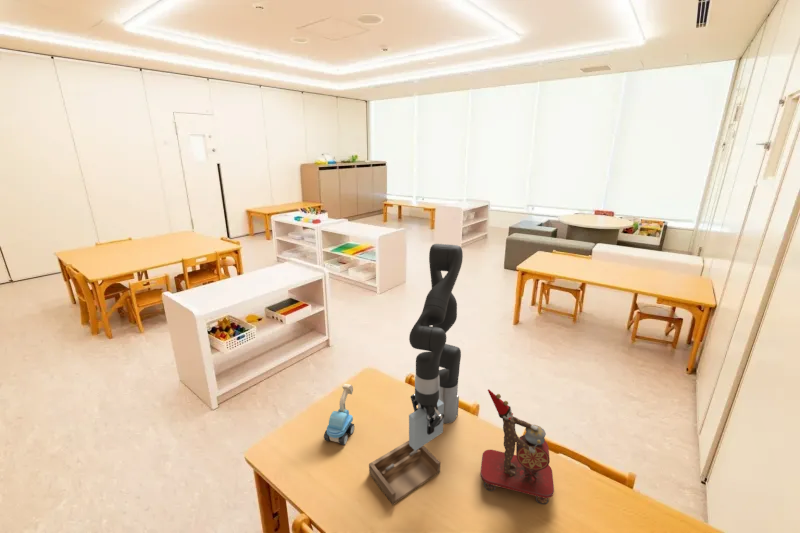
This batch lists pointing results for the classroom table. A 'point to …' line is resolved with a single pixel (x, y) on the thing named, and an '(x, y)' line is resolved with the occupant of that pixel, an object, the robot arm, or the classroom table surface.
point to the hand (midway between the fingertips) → (426, 429)
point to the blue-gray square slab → (422, 427)
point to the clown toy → (519, 458)
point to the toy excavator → (340, 421)
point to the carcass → (403, 470)
